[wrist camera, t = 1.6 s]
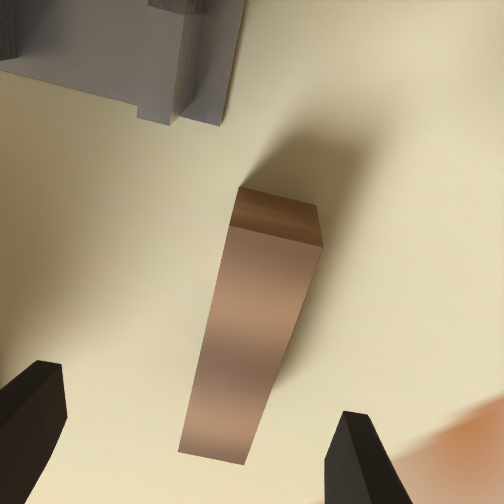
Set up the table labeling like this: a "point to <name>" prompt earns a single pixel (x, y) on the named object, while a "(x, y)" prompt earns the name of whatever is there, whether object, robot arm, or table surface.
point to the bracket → (128, 51)
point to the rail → (250, 321)
